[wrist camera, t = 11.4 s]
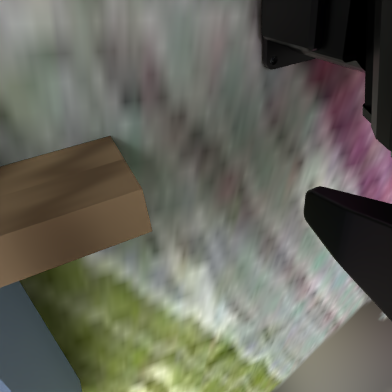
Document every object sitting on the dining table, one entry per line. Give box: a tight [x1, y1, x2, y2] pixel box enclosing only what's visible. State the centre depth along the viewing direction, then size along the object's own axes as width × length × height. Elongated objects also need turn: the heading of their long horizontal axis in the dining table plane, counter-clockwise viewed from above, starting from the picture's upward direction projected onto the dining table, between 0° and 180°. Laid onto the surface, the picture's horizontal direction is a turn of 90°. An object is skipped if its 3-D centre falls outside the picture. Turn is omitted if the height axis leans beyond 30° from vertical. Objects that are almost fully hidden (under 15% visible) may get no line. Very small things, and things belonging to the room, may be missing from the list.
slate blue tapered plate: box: [0, 281, 82, 392], centre depth 18 cm, size 24×2×8 cm, turn 9°
